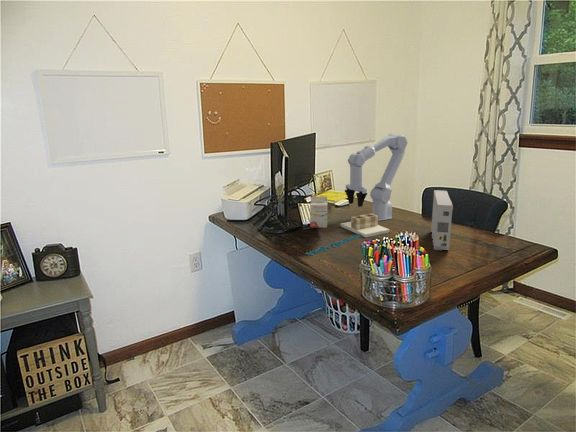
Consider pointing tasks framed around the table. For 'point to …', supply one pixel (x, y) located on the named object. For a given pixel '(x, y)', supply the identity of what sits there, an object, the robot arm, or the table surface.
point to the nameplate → (333, 245)
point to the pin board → (366, 230)
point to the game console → (441, 220)
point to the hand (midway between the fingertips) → (355, 204)
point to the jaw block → (364, 221)
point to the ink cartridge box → (318, 212)
